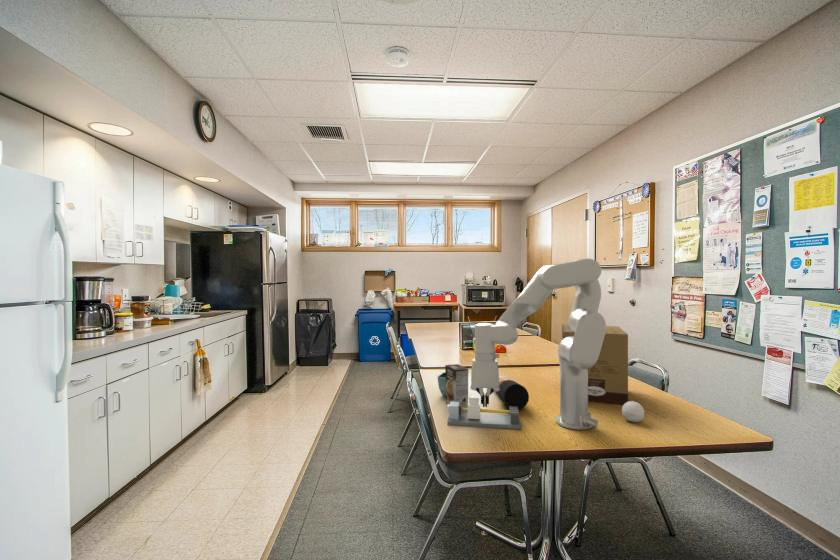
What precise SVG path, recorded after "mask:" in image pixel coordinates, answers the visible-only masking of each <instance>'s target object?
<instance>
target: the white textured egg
mask: <svg viewBox="0 0 840 560" xmlns="http://www.w3.org/2000/svg"><path fill="white" fill-rule="evenodd" d="M621 413H622V415H623V417H624V418H625V419H626V420H627V421H629V422H632V423H639V422H641V421H642V420H643V419H644V418H645V415H646V414H645V409H644V407H643V406H642V405H641V404H640V403H639V402H637V401H635V400H631V401H629V400H628V402H626V403H625V404H624V405H622V407H621ZM647 416H648V417H650V415H648V414H647Z"/></svg>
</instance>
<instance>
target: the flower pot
mask: <svg viewBox="0 0 840 560" xmlns="http://www.w3.org/2000/svg"><path fill="white" fill-rule="evenodd" d="M437 383H438V384H437V385H438V389H439V392H440V393H441V395H442V396H443V397H446V376H445V371H444V372H442V373H441V374H439V375H438V376H437Z"/></svg>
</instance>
